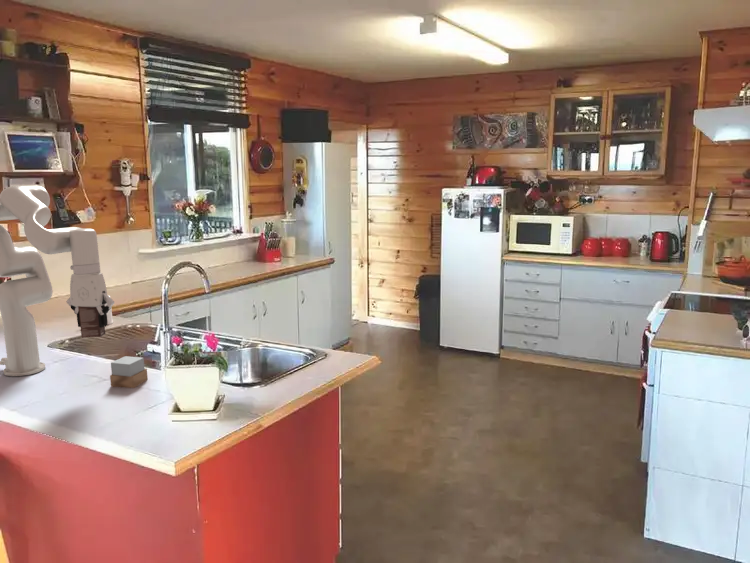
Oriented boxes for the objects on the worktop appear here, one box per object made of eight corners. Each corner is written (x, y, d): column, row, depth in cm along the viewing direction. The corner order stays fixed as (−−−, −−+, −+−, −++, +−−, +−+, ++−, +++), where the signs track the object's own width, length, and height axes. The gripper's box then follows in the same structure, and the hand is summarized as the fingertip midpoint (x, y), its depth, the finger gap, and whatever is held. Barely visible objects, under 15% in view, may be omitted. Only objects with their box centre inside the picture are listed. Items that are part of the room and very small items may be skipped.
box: (106, 333, 199) (102, 296, 196) (100, 337, 194) (96, 299, 192) (86, 334, 198) (82, 296, 196) (80, 338, 194) (76, 299, 192)
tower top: (111, 374, 200) (110, 362, 199) (126, 367, 207) (125, 356, 206) (130, 376, 198) (129, 364, 197) (144, 369, 205) (143, 357, 204)
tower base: (111, 387, 200) (110, 375, 199) (125, 379, 208) (124, 367, 207) (134, 389, 199) (133, 376, 198) (147, 380, 206) (146, 368, 205)
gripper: (53, 271, 191) (60, 328, 194) (104, 271, 187) (110, 330, 190) (70, 267, 198) (76, 322, 201) (119, 267, 194) (125, 324, 198)
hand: (92, 325), depth 196 cm, fingers closed on box, 6 cm apart
